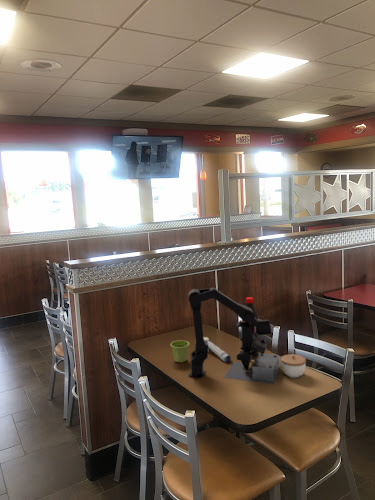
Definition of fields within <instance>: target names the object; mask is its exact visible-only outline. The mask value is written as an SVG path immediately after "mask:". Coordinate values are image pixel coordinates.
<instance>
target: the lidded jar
mask: <svg viewBox="0 0 375 500" xmlns="http://www.w3.org/2000/svg"><path fill="white" fill-rule="evenodd" d="M280 360H281V369H282V371H283V373H284V374H285V375H286V376H287V377H289V378H295V379H297V378H299V377H301V376H302V375H304V373H305V371H306V367H307V366H306V365H307V364H306V363H307V359H306V358H305V356H302V355H299V354H293V353H292V354H290V353H288V354H285V355H282V356H281V358H280Z"/></svg>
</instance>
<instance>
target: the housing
mask: <svg viewBox="0 0 375 500" xmlns="http://www.w3.org/2000/svg"><path fill="white" fill-rule="evenodd" d="M257 355H258V356H257V357H256V359H255V360H256V361H255V363H254V365H253V366H252V370H253V380H254V381H261V382H268V383H274V380H275V378H276V375H277V372H278V370H279V367H280V355H279V354H273V353H265V352H264V354H261V353H260V352H258V354H257ZM279 371H280V370H279ZM276 379H277V378H276Z"/></svg>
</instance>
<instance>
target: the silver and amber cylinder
mask: <svg viewBox="0 0 375 500" xmlns="http://www.w3.org/2000/svg"><path fill="white" fill-rule="evenodd" d="M255 361H256V359H252V360H251V361H250V363H249V369H248V371H253V370H252V366H253V365H254V363H255ZM243 370H245V368H244V366H243ZM246 371H247V370H246Z"/></svg>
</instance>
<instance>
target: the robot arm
mask: <svg viewBox="0 0 375 500" xmlns="http://www.w3.org/2000/svg"><path fill="white" fill-rule="evenodd" d="M211 299H214V300H215V301H217V302H219V303H220V304H222V305H223V306H225V307H226V308H228V309H230V310H231V311H233V313H235V314H236V315H237V316H238V317H239V318H240V319H241V320H239V322H236V326H237V328H240V329H241V330H240V331H241V335H240V336H241V337H240V342H241V346H240V351H239V352H237V354H236V360H237V361H240V363H242V364H243V366H244V368H245V370H247V371H248V369H249V363H250V361H251V360H254V359H253V358H254V356H253V354H254V353H256V351H258V353H261V354H264V353H265V352H266V350H267V348H268V343H267V342H266V339H264V338H262V339H260V340H258V339H257V340H256V337H255V336H254V326H255V333H257V334H258V336H270V335H271V334H272V328H271V327H272V326H271V321H270V320H269V319H260V320H259V319H258V320H257V319H256V318H255V316H254V313H253V311H252V310H251V309H250V308H249V307H247V306H246V305H244V304H241V303H238V302H236V301H235V300H233V299H231V298H230V297H229V296H227V295H226V294H224V293H222V292H221V291H219V289H217V288H216V287H211V288H202V289H197V288H192V289H190V291H189V292H188V301H189V305H190V308H191V312H192V316H193V325H194V337H195V342H194V350H193V351H192V352H191V353H190V373H189V374H188V377H189V378H190V377H191V378H196V379H197V378H198V379H201V378H203V377H204V376H205V375H206V373H207V371H206V370H205V369H204V362H205V360H206V359H208V355H210V352H209V351H210V349H209V350H208V342H207V341H204V338H203V337H204V331H203V322H202V321H203V320H202V314H201V313H202V311H201V309H202V302H205V301H208V300H211ZM242 320H243V321H244V322H242ZM249 322H250V323H249ZM242 350H243V351H242Z"/></svg>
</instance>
